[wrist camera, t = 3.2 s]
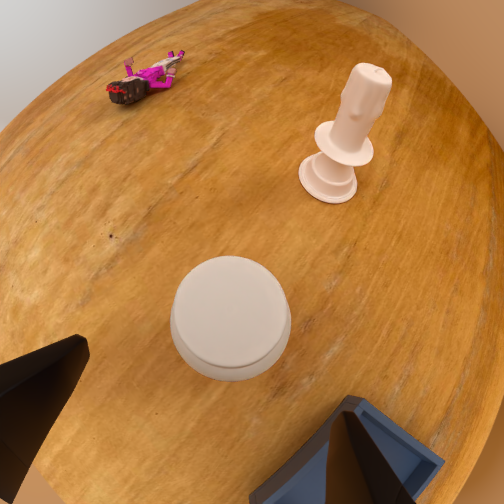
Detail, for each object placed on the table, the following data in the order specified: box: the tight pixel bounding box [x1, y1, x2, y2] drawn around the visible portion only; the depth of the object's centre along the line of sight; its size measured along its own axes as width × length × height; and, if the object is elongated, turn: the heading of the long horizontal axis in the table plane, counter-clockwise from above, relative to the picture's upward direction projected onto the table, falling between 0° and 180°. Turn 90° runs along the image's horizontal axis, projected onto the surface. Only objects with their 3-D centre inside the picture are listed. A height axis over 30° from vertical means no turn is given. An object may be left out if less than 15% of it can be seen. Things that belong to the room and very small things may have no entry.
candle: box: [299, 63, 392, 203], centre depth 18 cm, size 5×5×12 cm
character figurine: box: [106, 50, 185, 105], centre depth 26 cm, size 6×5×12 cm
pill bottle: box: [170, 256, 291, 382], centre depth 14 cm, size 5×5×10 cm
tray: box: [249, 395, 445, 504], centre depth 13 cm, size 10×10×3 cm
